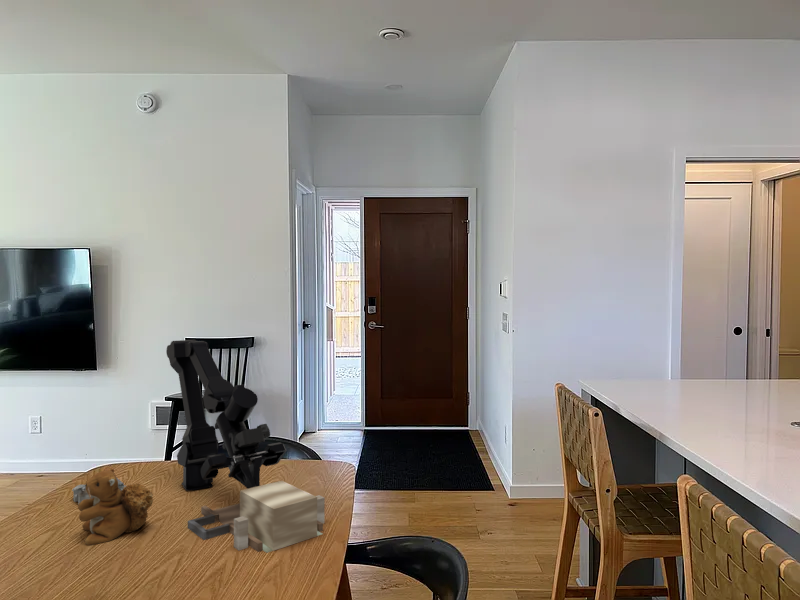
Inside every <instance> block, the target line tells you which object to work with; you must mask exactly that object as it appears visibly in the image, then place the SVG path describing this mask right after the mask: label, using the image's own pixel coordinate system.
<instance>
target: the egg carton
mask: <svg viewBox="0 0 800 600" xmlns="http://www.w3.org/2000/svg"><path fill="white" fill-rule="evenodd" d="M117 480H118V488H119V489H120V491H122V490H123V489H124V488H125V487H126V486H127V484H124V482H122V481H121V479H120V478H118V477H117ZM85 485H86V484H78V485H76V486H75V487H73V488H72V490H71V491H72V492H73V493H72V494H73V498H72V499H73V502H75V503H76V502H78V503H77V504H78V505H79V503H80V502H81V501H82V500H84V499H92V498H95V497H92V496H91V498H90V497H89V495H88V494H87V493H85V491H86V487H85ZM78 505H77V506H78Z"/></svg>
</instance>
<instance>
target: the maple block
mask: <svg viewBox="0 0 800 600" xmlns="http://www.w3.org/2000/svg"><path fill="white" fill-rule="evenodd" d="M316 496H317V495H314V494H311V493H309V492H308V491H306V490H303V489H301V488H299V487H296V486H295V485H293V484H290V483H288V482H286V481H284V480H278V481H273V482H270V483H266V484H262V485H261V484H260V486H257V487H253V488H249V489H247V488H246V489H245V488H244V489H240V491H239V503H240V517H242V516H244V517H246V518H247V519H248V533H249V534H251V535H252V536H254V537H255V538H257V539H258V540H260V541H261V542H263V544H264V545H266V546H267V547H269V548H270V549H272V550H273V551H272V552H274V551H278V550H280V549H283V548H286V547H289V546H292V545H295V544H297V543H301V542H304V541H308V540H309V539H313V538H316V537H318V536H317V497H316Z"/></svg>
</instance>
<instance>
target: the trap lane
mask: <svg viewBox="0 0 800 600" xmlns="http://www.w3.org/2000/svg"><path fill="white" fill-rule="evenodd" d="M315 496H316V497H317V536H316V537H319V536H321V535H323V531H324V524H325V505H326V504H325V496H322V495H320V494H318V495H315ZM200 513H201V515H202V516H201V517H198V518H193V519H189V520H187V529H188V530H190V531H191V532H192V533H194V535H196V536H198V537H199V538H200V539H202V540H203V541H205V540H209V539H212V538H216V537H219V536H222V535H226V534H231V535H232V536H233V548H234V549H235V550H237V551H241V550H245V549H247V548H249V547H250V548H252V549H253V550H255V551H256V552H259V553H260V552H261V551H262V552H264V553H266V554H268V553H271V552H274V551H273V550H272V549H270V548H269V547H267V546H266V545H264V544H263V542H261V541H260V540H258V539H257V538H255V537H254V536H252V535H251V534H249V533H248V519H247V518H246V517H244V516H242V517H240V502H239V503H235V504H232V505H228V506H224V507H219V508H216V509H212V508H210V507H208V506H207V505H202V506H201V508H200ZM218 522H219V523H221V524H222V525H221V524H220V525H219V526H213V527H211V528H207V529H206V528H205V527H204V526H207V525H211V524H214V523H218Z"/></svg>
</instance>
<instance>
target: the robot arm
mask: <svg viewBox="0 0 800 600" xmlns="http://www.w3.org/2000/svg"><path fill="white" fill-rule="evenodd" d="M165 350H166V357H167V358H168V361H169V366H170V367H171V368H172V369H173V370H174V371H175V372H176V374H177V375H178V380H179V384H180V386H179V387H180V391H181V397H182V398H181V399H182V403H183V410H184V415H185V416H184V417H185V422H186V429H185V431H184V433H183V436H182V439H181V440H182V444H181V446H180V449H178V452H177V454H176V458H177V464H178V465H180V466H182V467H183V468H182V469H183V470H182V475H183V477H182V482H181V486H182V485H183V486H182V487H183V488H184V490H185V491H186V492H190V491H196V490H201V489H207V488H212V487H213V482H214V479H215V478H216V477H217V476H218V474H219V473H220V472H219V470H222V469H223V470H224V469H228V470H229V473H228V478H233V479H234V480H235V481H237V482H239V483H240V484H242V486H244V487H245V488H246V489H249V488H253V487H257V486H261V483H260V481H261V480H260V475H261V474H260V472H261V467H262V466H265V467H270V466H276V465H277V464H279V463H280V461H281V460H282V458H283V457H284V455H285V454H286V452H287V448H286V446H285V444H284V443H282V442H275V443H269V444H266V446H265V447H264V449H263V451H258V452H256V450H258V449H259V448H260V443H261V444H262V443H265V440H267V439H269V438H270V437H271V430H270V428H269V426H268V424H267V423H261V424H259V425H257V426H256V427H254V428H247V427H246V424H245V421H246V420H248V419H249V417H250V416H251V413H252V412H253V410H254V408H255V407H256V405H257V404H258V400H259V399H258V395H257V394H256V393H255V392H254V391H252V390H251V389H249V388H246V387H245V384H235V385H233V384H232V382H230V381H229V380H227V379H226V378H224V377H223V376H222V374H221V372H220V370H219V368H218V366H217V364H216V361H215V360H214V358H213V356H212V354H211V352H210V346H209V343H208V342H207V341H204V340H201V341H200V340H199V341H198V340H196V339H183V340H172V341H171V342H170V344H168V345H167V346H166V349H165ZM200 382H201V385H202V387H203V389H204V392H203V396H202V391H201V385H200ZM205 410H206V411H207V412H208V413H209V414H219V413H220V414H219V415H218V416H217V418H216V421H215V423H214V425H210V424H209V423H208V422H207V419H206V414H205ZM216 430H218V431H219V433H220V436H221V439H222V442H223V444H222V445H221V446H222V449H223V450H226V452H227V455H228V458H227V455H226V454H225V453H224V452H222V453H219V448H220V444H219V440H218V437H217V433H216Z"/></svg>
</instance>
